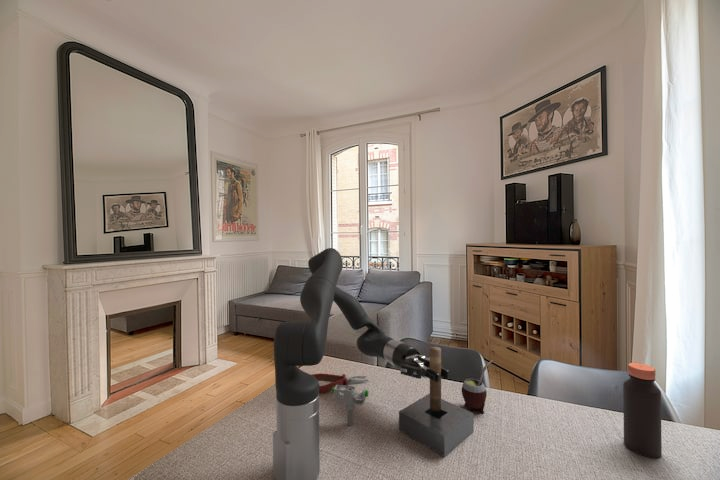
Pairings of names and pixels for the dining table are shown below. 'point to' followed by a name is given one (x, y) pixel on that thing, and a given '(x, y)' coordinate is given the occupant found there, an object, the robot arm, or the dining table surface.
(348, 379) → the pliers
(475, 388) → the mate gourd
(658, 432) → the bottle
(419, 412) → the grey square hole block
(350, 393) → the mechanical component
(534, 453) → the dining table surface
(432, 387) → the pin
